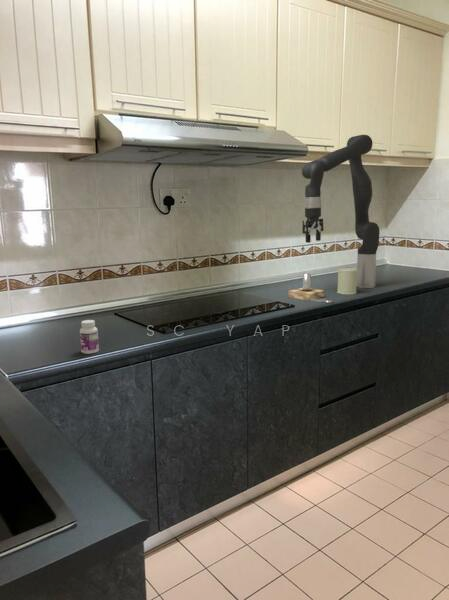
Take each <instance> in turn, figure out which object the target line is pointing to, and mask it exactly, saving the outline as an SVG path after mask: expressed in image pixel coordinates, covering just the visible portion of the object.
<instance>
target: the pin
mask: <svg viewBox="0 0 449 600" xmlns="http://www.w3.org/2000/svg"><path fill="white" fill-rule="evenodd" d="M311 280H312V274H311V273H310V272H308V273H307V272H304V273H302V288H303V291H304V292H310V291H311V289H312V287H311V284H312V283H311V282H312V281H311Z"/></svg>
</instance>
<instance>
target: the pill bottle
mask: <svg viewBox="0 0 449 600" xmlns="http://www.w3.org/2000/svg"><path fill="white" fill-rule="evenodd" d="M80 324H81V328H80V329H79V339H80V340H79V341H80V351H81V353H82V354H85V355H86V354H87V355H90V354H95V353H98V352H99V351H100V345H99V330H98V327H96V321H95V320H94V319H85V320H82V321H81V323H80Z"/></svg>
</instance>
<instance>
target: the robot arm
mask: <svg viewBox="0 0 449 600" xmlns="http://www.w3.org/2000/svg"><path fill="white" fill-rule="evenodd" d="M373 146H374V145H373V139H372V137H371V136H370V135H367V134H359V135H358V134H357V135H355V136H350V137H349V138H348V140H347V143H346V146H344V147H342V148H339V149H336V150H334V151H333V150H332V151H331V152H329V153H328V154H327V153H326V155H324V156H322V157H320V158H317V159H315V160H312V161H310V162H307V163H306V164H304V165H303V167H302V169H301V175H302V176H303V178H305V179H308V180H310V181H309V183H308V184H306V185H305V188H304V191H305V192H304V195H305V196H304V197H305V198H304V217H305V218H306V220H305V219H304V220H302V232H301V233H302V234H304V235H305V243H307V244H308V243H311V242H312V240H311V232H313V230H314V231H315V241H317V242H319V241H321V239H322V238H321V236H322V235H321V234H322V232H324V230H325V229H324V219H323V218H321V217H322V197H321V193H322V192H321V188H322V187H321V186H322V183H323V178H324V173H326V172H328V171H331V170H333V169H334V168H336V167H338V166H340V165H341V164H343V163H345V162H347V161H348V163H349V168H350V175H351V182H352V183H351V184H352V185H351V186H352V196H353V203H354V214H355V215H354V216H355V217H354V219H355V220H354V222H355V223H354V227H355V229H354V230H355V235H356V236H357V238H358V239H359V240H362V242H361V243H362V244H361V245H360V247H358V248H357V255H356V257H357V260H356V262H357V265H356V269H357V285H356V288H360V289H372V288H375V287H376V279H377V278H376V277H377V276H376V274H377V265H376V264H377V251H378V249H379V242H380V226H379V225H378V224H377V222H373V221H370V216H369V211H370V210H369V209H370V205H371V202H372V199H373V185H372V184H373V183H372V179H371V177H370V176H369V174H368V172H367V171H366V169H365V168H364V167H365V166H364V165H363V162H362V161H363V160H362V156H363V155H365V154H368V153H369V152H371V150H372V148H373Z"/></svg>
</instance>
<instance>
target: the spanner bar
mask: <svg viewBox="0 0 449 600" xmlns="http://www.w3.org/2000/svg"><path fill="white" fill-rule="evenodd" d="M310 301H311V302H316V303H325V304H333V300H331V299H324V298H310Z"/></svg>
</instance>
